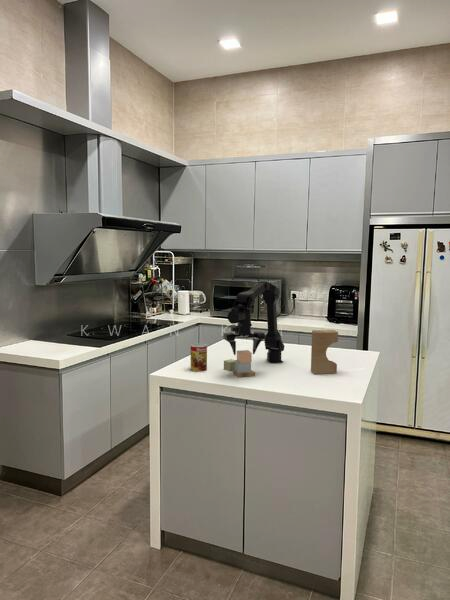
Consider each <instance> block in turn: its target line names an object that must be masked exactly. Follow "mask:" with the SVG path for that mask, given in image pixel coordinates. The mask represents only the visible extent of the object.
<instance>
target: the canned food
mask: <svg viewBox="0 0 450 600" xmlns="http://www.w3.org/2000/svg"><path fill="white" fill-rule="evenodd" d="M190 371H192V372H196V373H199V372H200V373H201V372H206V371H208V344H205V343H202V342H201V343H192V344H190Z"/></svg>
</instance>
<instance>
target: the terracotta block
mask: <svg viewBox="0 0 450 600" xmlns="http://www.w3.org/2000/svg"><path fill="white" fill-rule="evenodd" d="M252 355H253V352H251V351H250V350H247V349H246V350H236V360H237V361H238V362H239V363H250V362H251V363H252Z"/></svg>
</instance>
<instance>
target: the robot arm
mask: <svg viewBox="0 0 450 600" xmlns="http://www.w3.org/2000/svg"><path fill="white" fill-rule="evenodd" d="M260 295H262V300H263V301H264V303H265V304H266V319H267V321H266V322H267V331H266V334H265V332H263V331H261V330H260V331H259V330H258V331H253V332H252V326H253V324H252V311H254V308H253V307H252V306H253V305H254V304H255V303H256V299H257V298H258V297H259V296H260ZM279 299H280V289H279V288H278V287H277V286H276V285H273V284H271V283H270V282H269V281H268V280H267V281H265V280H260V281H258V282H257V283H256V284H255V285H253V286H252V288H250V289H249V290H247V291H246V290H245V291H242V292H239V293H238V294H237V295H236V297H235V300H234V302H233V305H232V307H231V310H230V311H229V312H228V313H227V314H228V315H227V320H228V322H229V323H230V324H231V325H230V332H224V333H223V337H222V338H223V340H224V341H226V342H227V343H229V345H230V347H231V350H232V353H233V356H237V349H236V348H237V347H236V345H237V341H236V339H249V338H250V339H251V338H252V355H255V354H256V352H257V349H258V347H259V346H260V343H261V342H264V347H265V350H266V351H267V352H266V353H267V354H266V361H267V362H268V363H271V364H275V363H277V364H278V363H283V361H282V352H284V350H285V344H284V342H283V341H282V336H281V334H280V332H279V330H278V316H277V314H278V313H277V303H278V301H279ZM263 340H264V341H263Z"/></svg>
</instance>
